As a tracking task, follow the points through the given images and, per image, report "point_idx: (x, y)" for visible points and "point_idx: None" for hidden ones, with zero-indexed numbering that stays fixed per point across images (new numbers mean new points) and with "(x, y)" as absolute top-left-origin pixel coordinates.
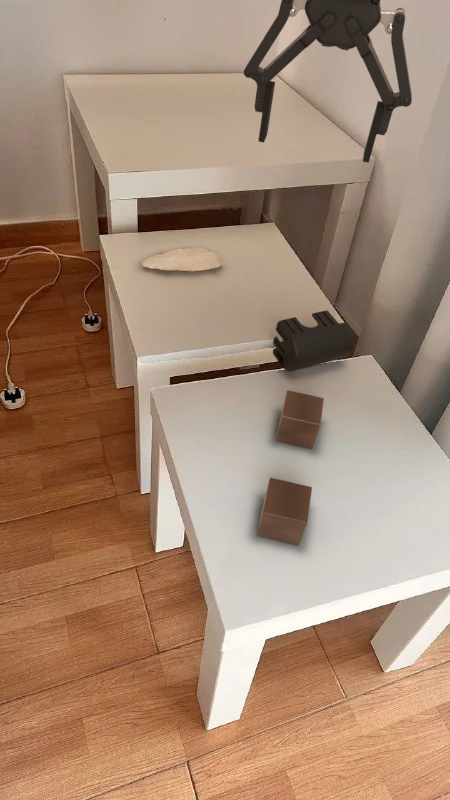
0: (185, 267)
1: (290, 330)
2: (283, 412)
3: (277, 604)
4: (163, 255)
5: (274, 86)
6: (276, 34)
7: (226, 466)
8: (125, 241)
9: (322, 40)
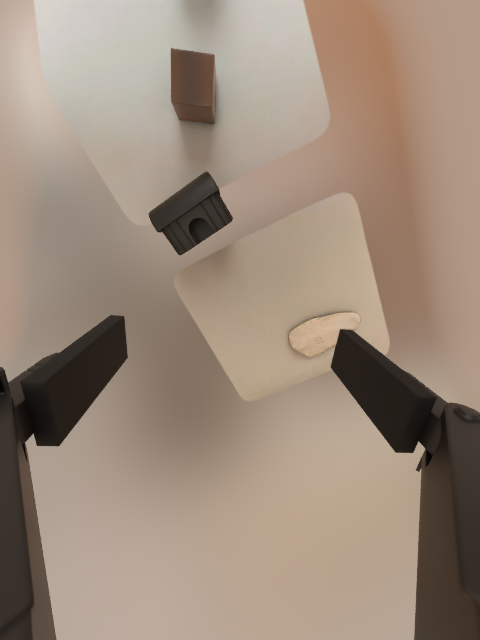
0: (322, 320)
1: (217, 205)
2: (213, 61)
3: None
4: None
5: (388, 440)
6: None
7: (261, 26)
8: None
9: None
